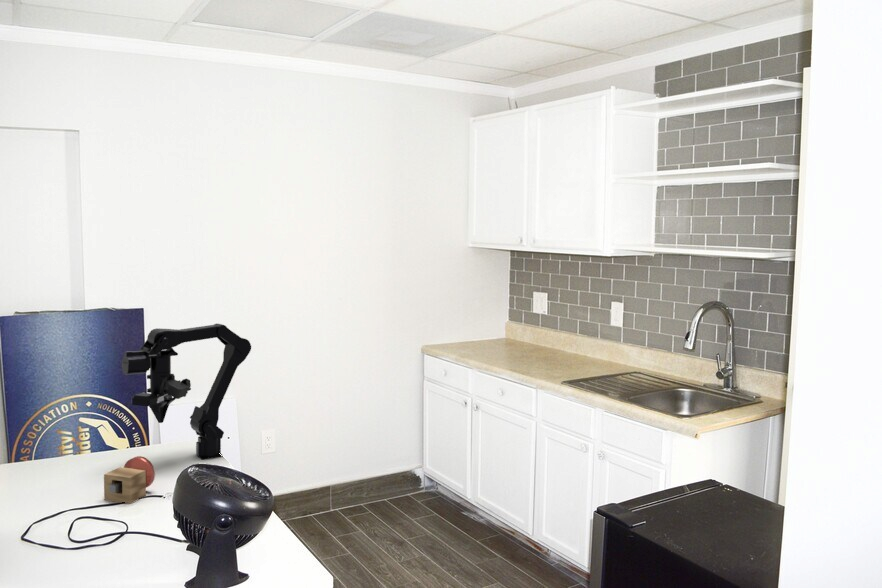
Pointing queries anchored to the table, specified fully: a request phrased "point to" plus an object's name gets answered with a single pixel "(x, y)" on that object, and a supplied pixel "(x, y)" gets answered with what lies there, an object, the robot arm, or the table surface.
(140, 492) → the tan block
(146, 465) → the copper disc handle
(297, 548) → the table surface
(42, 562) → the table surface
